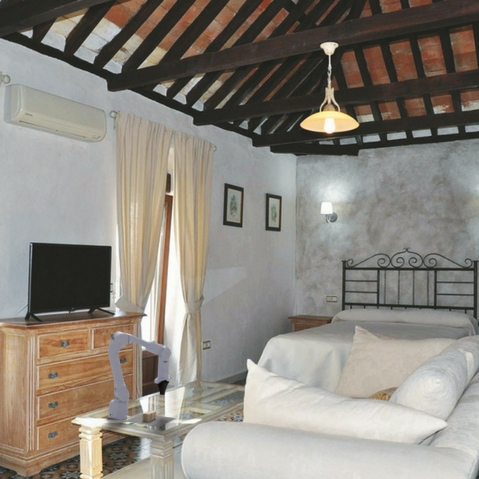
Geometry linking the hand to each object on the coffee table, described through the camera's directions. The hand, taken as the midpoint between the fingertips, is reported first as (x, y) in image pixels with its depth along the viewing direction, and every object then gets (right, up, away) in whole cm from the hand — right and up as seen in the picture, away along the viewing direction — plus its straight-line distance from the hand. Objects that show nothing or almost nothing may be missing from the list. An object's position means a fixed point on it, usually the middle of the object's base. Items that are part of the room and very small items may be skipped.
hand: (162, 394), depth 303 cm
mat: (-4, -10, -13) cm, 17 cm away
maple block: (-4, -8, -9) cm, 12 cm away
